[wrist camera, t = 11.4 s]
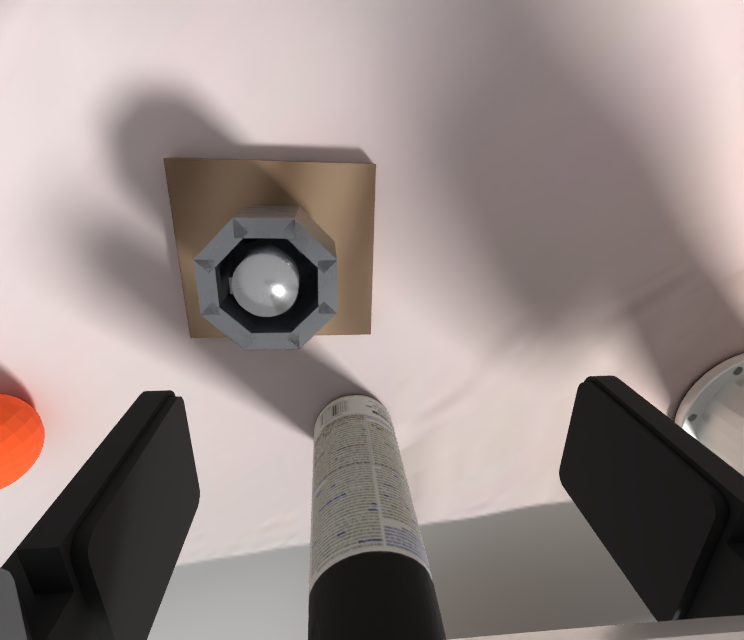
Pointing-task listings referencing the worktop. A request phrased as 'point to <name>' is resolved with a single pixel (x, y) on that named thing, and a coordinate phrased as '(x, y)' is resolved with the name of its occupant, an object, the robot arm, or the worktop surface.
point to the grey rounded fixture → (270, 275)
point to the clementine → (18, 438)
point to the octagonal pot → (220, 263)
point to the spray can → (365, 533)
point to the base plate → (278, 188)
